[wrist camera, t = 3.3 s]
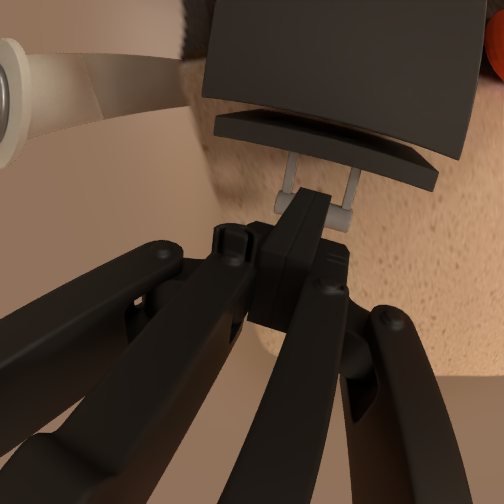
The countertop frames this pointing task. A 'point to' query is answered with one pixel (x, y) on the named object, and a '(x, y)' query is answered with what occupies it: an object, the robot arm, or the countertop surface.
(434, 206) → the countertop surface
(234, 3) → the dark drawer cabinet
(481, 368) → the countertop surface
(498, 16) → the clementine
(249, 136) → the open grey drawer
